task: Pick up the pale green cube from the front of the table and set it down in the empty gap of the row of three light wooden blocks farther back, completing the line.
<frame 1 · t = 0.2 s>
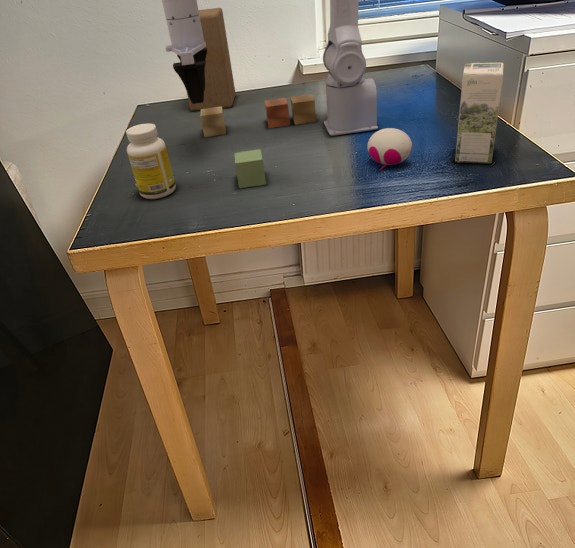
hand: (198, 96, 96), 10 cm above the table, tool pointing down, fingers open, 7 cm apart
syrup box: (473, 158, 86), on the table
wooden block: (214, 104, 127), on the table
stress ball: (387, 165, 87), on the table
block line: (259, 125, 110), on the table
pill bottle: (158, 192, 88), on the table
pale green cube: (252, 181, 87), on the table
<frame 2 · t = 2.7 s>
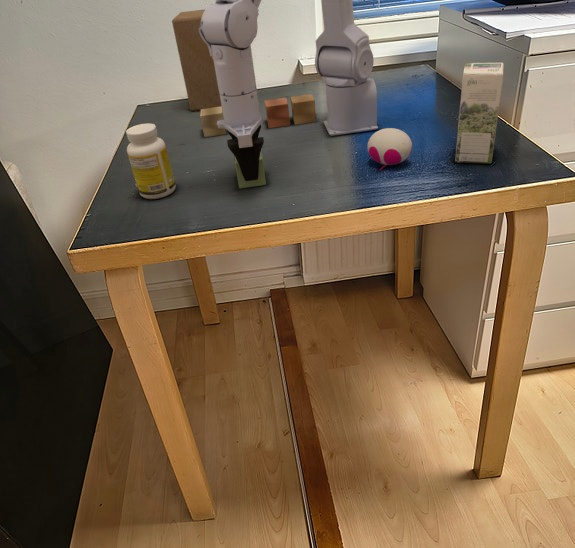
hand: (250, 173, 87), 1 cm above the table, tool pointing down, fingers closed on pale green cube, 4 cm apart
pale green cube: (252, 181, 87), on the table, touching gripper
everything else where it was.
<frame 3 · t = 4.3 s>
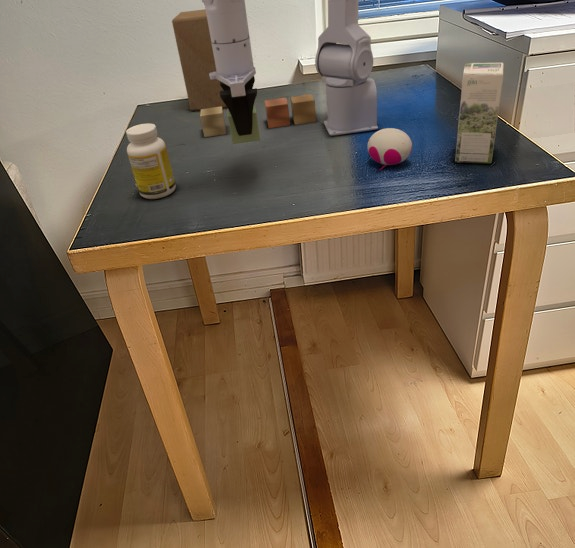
hand: (244, 129, 84), 8 cm above the table, tool pointing down, fingers closed on pale green cube, 4 cm apart
pale green cube: (245, 137, 85), point 7 cm above the table, touching gripper
everything else where it was.
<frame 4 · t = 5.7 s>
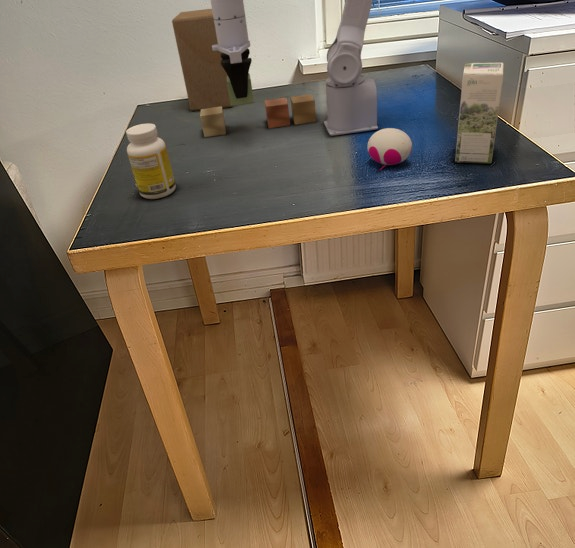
hand: (241, 93, 101), 8 cm above the table, tool pointing down, fingers closed on pale green cube, 4 cm apart
pale green cube: (241, 101, 102), point 7 cm above the table, touching gripper
everything else where it was.
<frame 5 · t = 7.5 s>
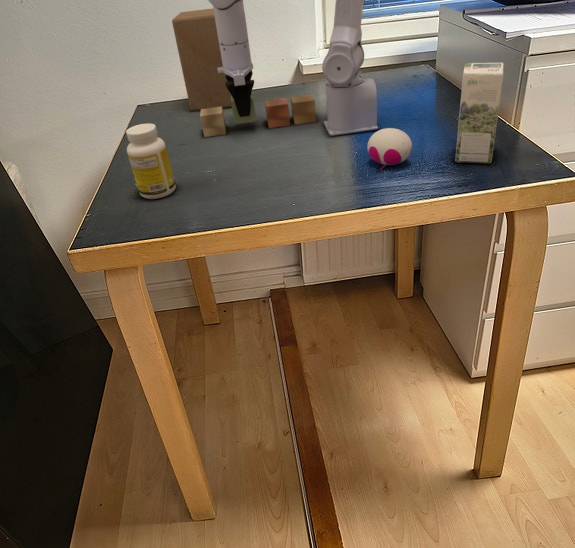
hand: (244, 112, 108), 3 cm above the table, tool pointing down, fingers closed on pale green cube, 4 cm apart
pale green cube: (245, 118, 108), point 2 cm above the table, touching gripper
everything else where it was.
when the fingers open (1 cm above the table, at t = 8.6 s): pale green cube stays where it is, on the table.
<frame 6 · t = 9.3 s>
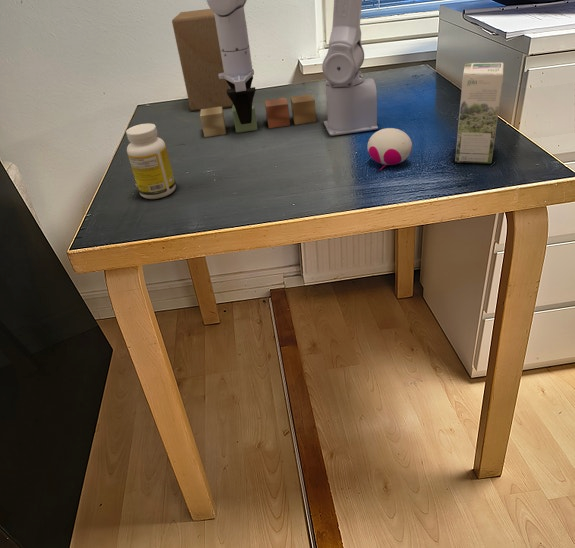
hand: (245, 117, 108), 2 cm above the table, tool pointing down, fingers open, 7 cm apart
pale green cube: (246, 127, 109), on the table
everything else where it was.
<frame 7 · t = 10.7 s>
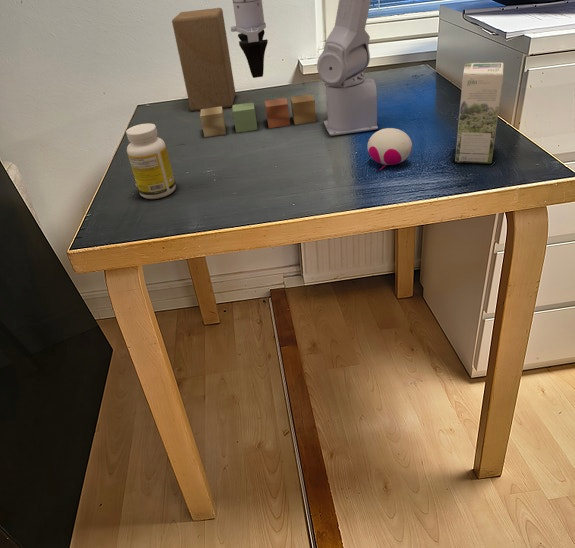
hand: (256, 72, 109), 9 cm above the table, tool pointing down, fingers open, 7 cm apart
nothing on the table moved.
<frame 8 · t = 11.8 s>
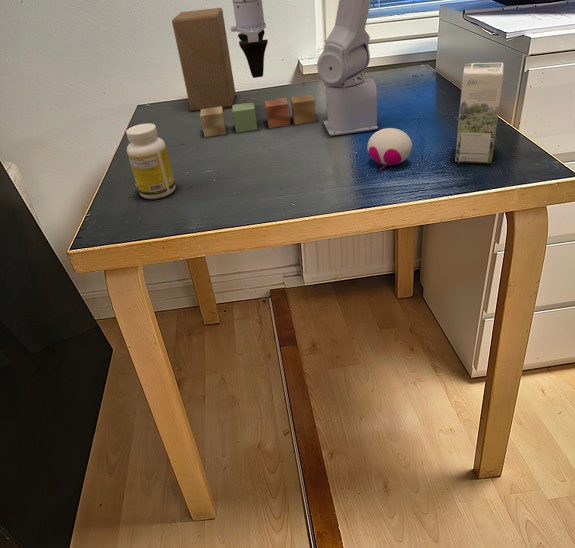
hand: (256, 72, 109), 9 cm above the table, tool pointing down, fingers open, 7 cm apart
nothing on the table moved.
at the end: pale green cube 0.1 cm from the target spot on the block line, point 0.0 cm above the block line's base; pale green cube tilted 0°; the gripper is holding nothing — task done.
